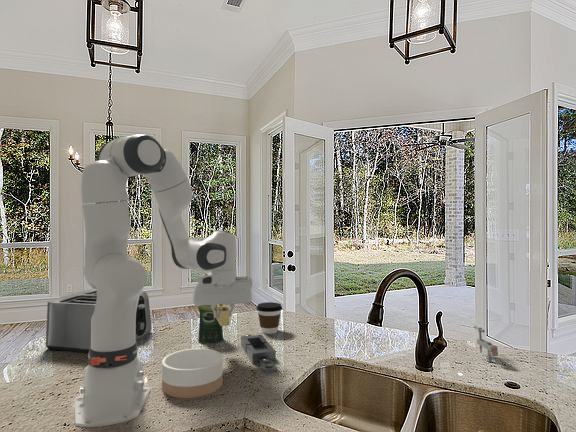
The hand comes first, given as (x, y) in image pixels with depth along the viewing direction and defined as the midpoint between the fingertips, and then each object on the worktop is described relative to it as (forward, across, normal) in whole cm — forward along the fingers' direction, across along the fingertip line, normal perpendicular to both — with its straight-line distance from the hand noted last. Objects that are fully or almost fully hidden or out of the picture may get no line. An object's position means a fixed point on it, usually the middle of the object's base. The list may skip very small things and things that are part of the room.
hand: (222, 316), depth 135 cm
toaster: (+15, +43, -31) cm, 55 cm away
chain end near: (+14, -12, +6) cm, 20 cm away
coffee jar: (+14, +2, -18) cm, 23 cm away
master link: (+2, 0, 0) cm, 2 cm away
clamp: (+14, -87, +29) cm, 93 cm away
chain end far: (+14, -12, -4) cm, 19 cm away
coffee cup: (+14, -23, -22) cm, 35 cm away
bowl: (+15, +12, +20) cm, 27 cm away
